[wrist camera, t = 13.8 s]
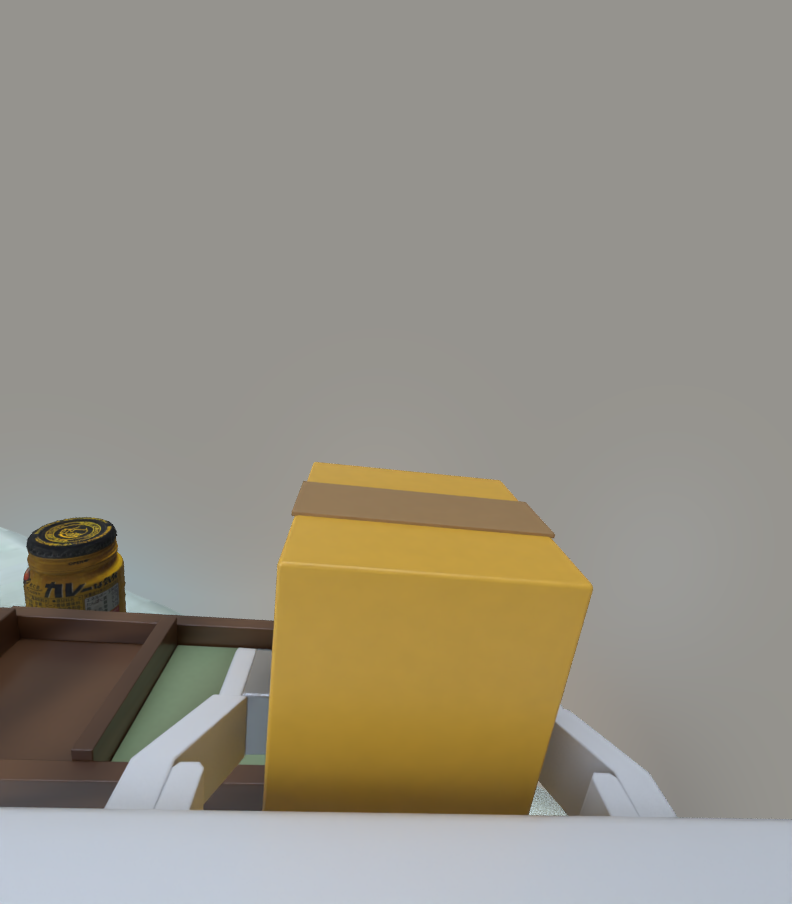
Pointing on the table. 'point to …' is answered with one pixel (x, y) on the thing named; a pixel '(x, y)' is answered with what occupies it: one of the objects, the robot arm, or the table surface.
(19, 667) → the rack
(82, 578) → the condiment
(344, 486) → the package
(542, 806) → the table surface
